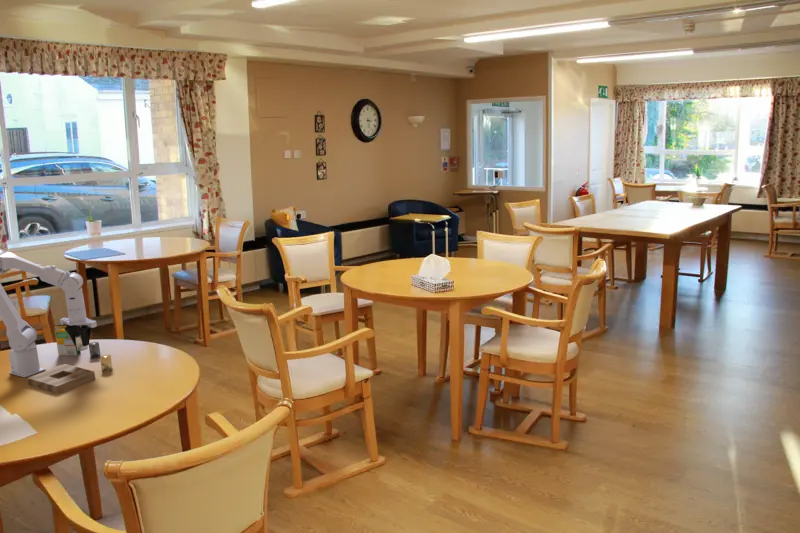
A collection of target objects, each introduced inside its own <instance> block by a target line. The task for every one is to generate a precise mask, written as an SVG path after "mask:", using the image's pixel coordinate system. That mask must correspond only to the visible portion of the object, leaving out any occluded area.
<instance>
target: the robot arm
mask: <svg viewBox="0 0 800 533" xmlns="http://www.w3.org/2000/svg"><path fill="white" fill-rule="evenodd" d="M11 269H16V270H19V271H23V272H26V273H29V274H32V275H36V276H38V277H39V280H40V281H41V282H45V283H47V284H50V285H53V286H54V287H55V286H56V287H58V288H61V290H62V291H63V292H64V296H65V298H64V299H65V304H66V310H67V311H66V312H67V316H68V317H62V318H60V319H59V321H60V326H65V325H66V326H67V327H65V328H64V329H65V330H66V331H67V333H68V334H69V335H70V337H71V339H72V341H73V343H74V345H76V340H75V336H76V335H80V336H81V340H82V344H83V346H89V343H90V338H91V334H92V331H93V329H94V328H96V327H98V323H97V320H94V319H90V318H88V316H87V310H86V304H85V299H84V298H85V297H84V293H83V287H82V286H83V285H84V278H83V277H82V275H81V274H79V273H78V272H70V271H68V270H67V271H65V270H62V269H60V268H57V266H56V265H54V264H52V265H46V266H42V265H40V264H37V263H35V262H33V261H30V260H28V259H26V258H23V257H20V256H18V255H16V254H15V253H13V252H12V251H11V252H10V251H6V250H4V249H0V276H1V274H2V273H3V271H7V270H11ZM0 318H1V320H2V322H3V324H4V326H5V327H6V330H5V331H6V333H5V334H6V337H7V338H8V346H9V347H10V350H9V354H8V357H9V358H8V359H9V363H10V368H11V369H10V370H11V371H9V374H11V375H15V376H18V377H22V378H29V377H31V376H34V375H37V374H39V373H42V372H45V371H47V370H46V368H45V367H41V365H40V360H39V355H38V350H37V349H38V348H37V347H38V346H37V344H36V342H35V341H36V340H37V338H38V333H37V331H36V329H35V328H33V327H32V326H31V325H30V324H29V323H28V321H26V320H24V319H23V318H22V317H21V315H20V313H19V312H18V310H17V309H16V307H15V305H14V304H13V302H12V300H11V299H10V296H9V295H8V294H7V292H6V290H5V289H4V287H3V285H2V283H1V282H0Z"/></svg>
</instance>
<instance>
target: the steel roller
mask: <svg viewBox="0 0 800 533" xmlns="http://www.w3.org/2000/svg"><path fill="white" fill-rule="evenodd" d="M75 340H76V346H77V351H81V352H82V351H83V352H84V351H86V350H89V345H87V346H83V344H82V340H81V336H80V335H76V336H75Z"/></svg>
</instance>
